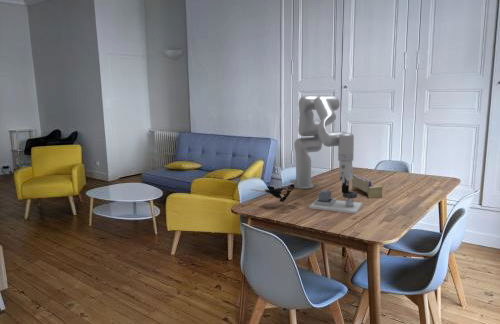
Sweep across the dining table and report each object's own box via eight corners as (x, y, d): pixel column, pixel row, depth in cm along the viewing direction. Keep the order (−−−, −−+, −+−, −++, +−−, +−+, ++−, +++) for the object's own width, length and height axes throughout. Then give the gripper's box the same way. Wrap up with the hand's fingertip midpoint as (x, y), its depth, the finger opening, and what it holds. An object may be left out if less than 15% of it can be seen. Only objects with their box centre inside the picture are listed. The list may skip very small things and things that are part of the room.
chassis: (309, 208, 201) (309, 197, 200) (318, 200, 215) (318, 190, 214) (356, 213, 190) (356, 202, 189) (362, 205, 204) (362, 194, 203)
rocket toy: (283, 190, 192) (243, 186, 203) (284, 203, 193) (243, 198, 204) (295, 184, 204) (256, 180, 216) (295, 196, 206) (256, 191, 217)
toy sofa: (382, 197, 219) (383, 179, 217) (369, 198, 217) (369, 181, 215) (364, 188, 239) (364, 172, 237) (351, 189, 237) (351, 173, 235)
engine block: (318, 204, 204) (318, 191, 202) (321, 201, 209) (321, 189, 208) (327, 205, 201) (328, 192, 200) (330, 202, 207) (331, 189, 205)
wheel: (341, 197, 197) (341, 193, 196) (344, 194, 203) (344, 190, 202) (355, 199, 194) (355, 195, 193) (357, 195, 200) (357, 191, 199)
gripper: (349, 160, 187) (349, 196, 191) (356, 155, 201) (355, 189, 204) (334, 159, 191) (334, 195, 194) (341, 155, 204) (341, 188, 207)
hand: (345, 192), depth 199 cm, fingers closed
